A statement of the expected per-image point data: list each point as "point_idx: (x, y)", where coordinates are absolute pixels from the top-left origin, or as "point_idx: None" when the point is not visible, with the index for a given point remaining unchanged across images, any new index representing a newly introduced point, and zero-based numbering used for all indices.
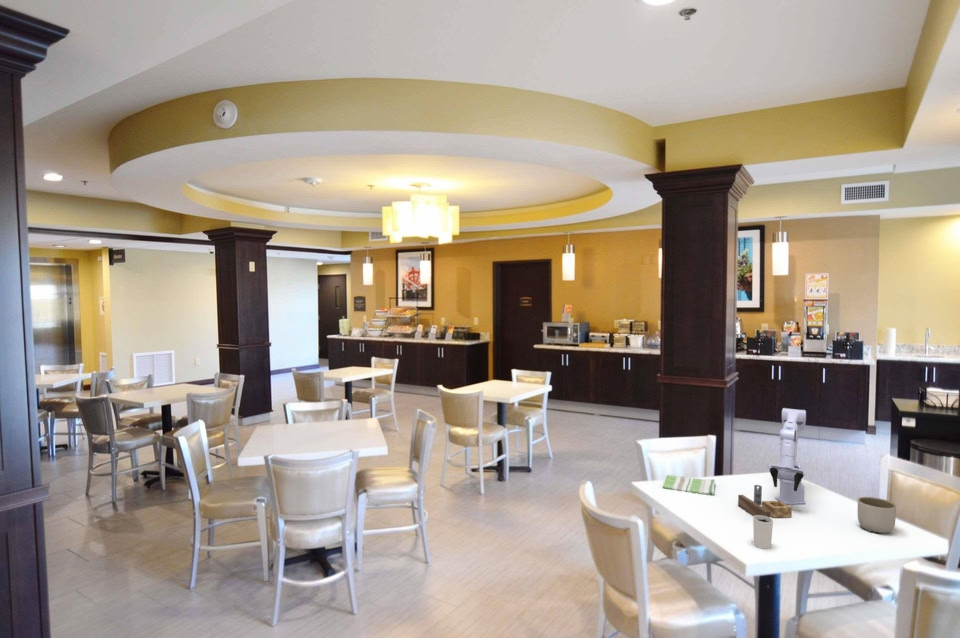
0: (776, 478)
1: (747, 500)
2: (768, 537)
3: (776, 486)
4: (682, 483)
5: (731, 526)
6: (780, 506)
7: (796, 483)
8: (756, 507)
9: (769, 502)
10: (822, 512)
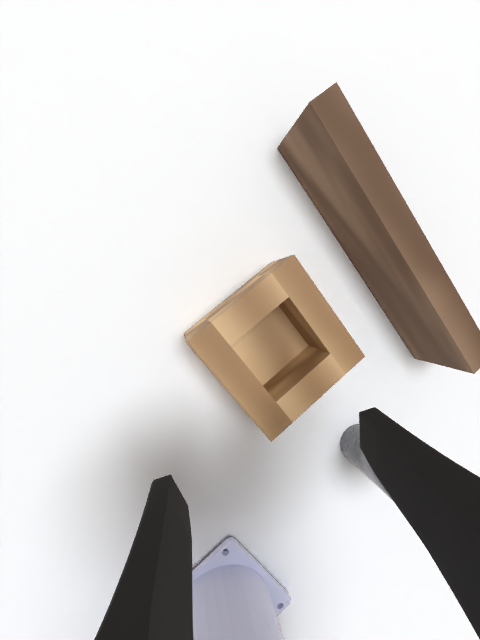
0: (454, 485)
1: (446, 276)
2: None
3: (366, 413)
4: None
5: (435, 17)
6: (257, 319)
7: (154, 574)
8: (389, 185)
9: (325, 359)
10: (19, 549)
